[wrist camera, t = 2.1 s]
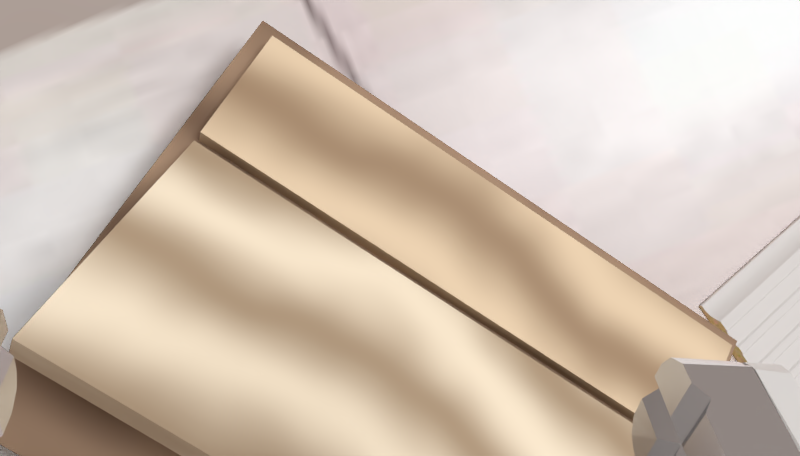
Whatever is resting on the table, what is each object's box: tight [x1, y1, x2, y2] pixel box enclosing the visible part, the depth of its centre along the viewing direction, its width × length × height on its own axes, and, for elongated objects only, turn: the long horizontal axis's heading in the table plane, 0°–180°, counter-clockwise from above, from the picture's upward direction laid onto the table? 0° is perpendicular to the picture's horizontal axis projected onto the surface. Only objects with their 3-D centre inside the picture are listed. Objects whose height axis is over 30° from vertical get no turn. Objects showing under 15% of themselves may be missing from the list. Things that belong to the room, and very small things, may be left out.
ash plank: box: [9, 141, 635, 456], centre depth 32 cm, size 12×28×1 cm, turn 59°
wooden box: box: [0, 21, 737, 456], centre depth 36 cm, size 22×30×5 cm
